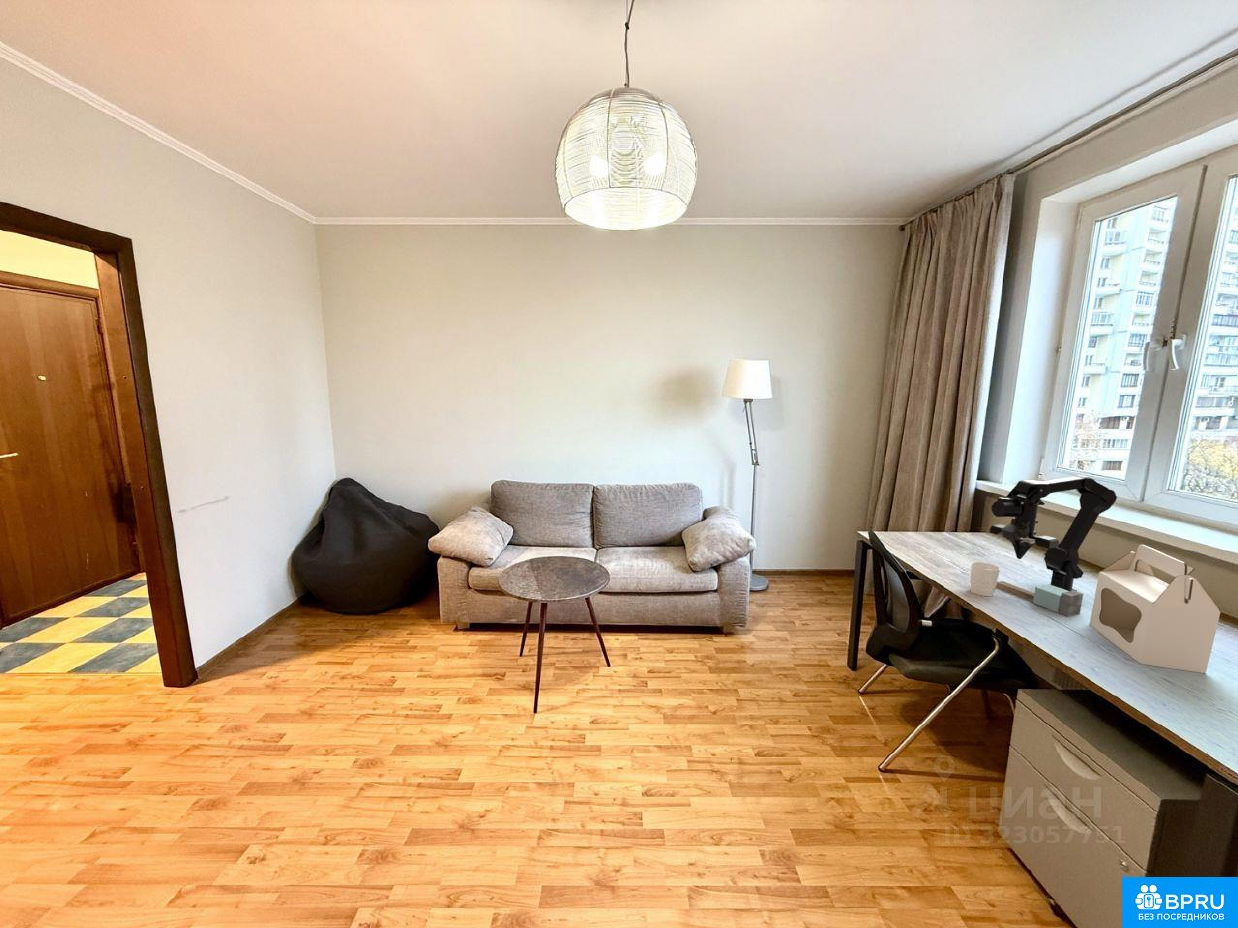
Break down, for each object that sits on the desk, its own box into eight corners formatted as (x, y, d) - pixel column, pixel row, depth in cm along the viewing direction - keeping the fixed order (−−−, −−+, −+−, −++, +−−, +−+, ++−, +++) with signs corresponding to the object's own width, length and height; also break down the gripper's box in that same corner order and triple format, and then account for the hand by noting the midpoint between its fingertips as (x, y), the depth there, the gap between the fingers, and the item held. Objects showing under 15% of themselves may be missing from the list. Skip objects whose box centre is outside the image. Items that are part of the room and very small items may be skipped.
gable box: (1207, 674, 120) (1232, 571, 115) (1140, 664, 124) (1161, 564, 119) (1143, 631, 140) (1162, 542, 136) (1088, 624, 145) (1104, 538, 140)
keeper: (1046, 599, 160) (1049, 584, 159) (1071, 609, 154) (1074, 593, 153) (1032, 602, 158) (1035, 586, 157) (1057, 612, 151) (1060, 595, 150)
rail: (1004, 585, 172) (1007, 567, 171) (1079, 613, 151) (1083, 593, 150) (993, 587, 170) (995, 569, 169) (1067, 616, 149) (1071, 596, 148)
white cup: (1000, 598, 162) (1005, 571, 160) (975, 596, 163) (979, 569, 162) (988, 588, 170) (991, 562, 168) (963, 586, 171) (967, 560, 169)
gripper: (981, 512, 170) (976, 552, 173) (1042, 526, 153) (1035, 571, 155) (1001, 509, 174) (996, 549, 177) (1063, 522, 157) (1056, 566, 159)
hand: (1019, 558), depth 167 cm, fingers closed
